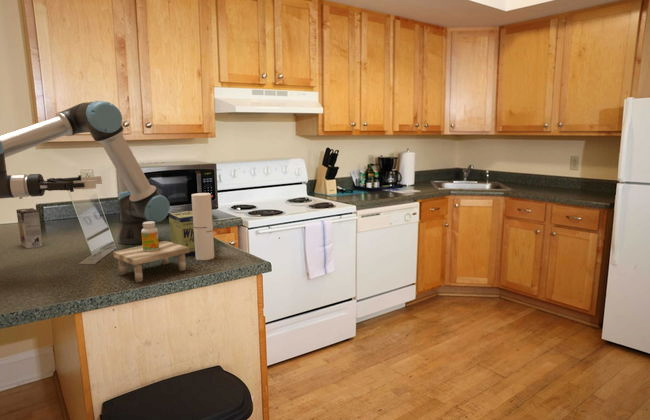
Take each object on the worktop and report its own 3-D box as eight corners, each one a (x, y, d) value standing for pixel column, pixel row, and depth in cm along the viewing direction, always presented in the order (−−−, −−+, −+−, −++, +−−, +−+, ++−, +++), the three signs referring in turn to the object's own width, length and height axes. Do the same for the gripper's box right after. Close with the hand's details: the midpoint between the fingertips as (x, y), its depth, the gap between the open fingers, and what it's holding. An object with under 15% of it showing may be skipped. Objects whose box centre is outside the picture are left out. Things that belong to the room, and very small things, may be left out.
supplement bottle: (141, 252, 156) (138, 224, 154) (144, 248, 161) (142, 221, 159) (157, 251, 156) (155, 223, 155) (160, 247, 162) (158, 220, 160)
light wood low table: (114, 273, 158) (112, 251, 156) (167, 261, 172) (166, 240, 171) (136, 283, 147) (134, 259, 146) (190, 269, 162) (189, 247, 161)
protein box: (183, 256, 178) (180, 218, 176) (170, 248, 191) (167, 212, 188) (208, 252, 184) (206, 214, 182) (194, 245, 197) (192, 209, 194)
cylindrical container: (194, 256, 178) (190, 193, 174) (212, 254, 181) (209, 192, 177) (197, 261, 172) (192, 196, 168) (216, 258, 175) (212, 194, 170)
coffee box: (20, 245, 200) (15, 209, 198) (37, 242, 205) (32, 207, 202) (26, 248, 194) (21, 211, 192) (43, 245, 199) (38, 209, 196)
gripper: (40, 191, 164) (104, 188, 171) (18, 202, 141) (94, 197, 147) (37, 171, 163) (102, 168, 169) (15, 178, 140) (91, 174, 146)
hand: (98, 181), depth 158 cm, fingers open, 13 cm apart
